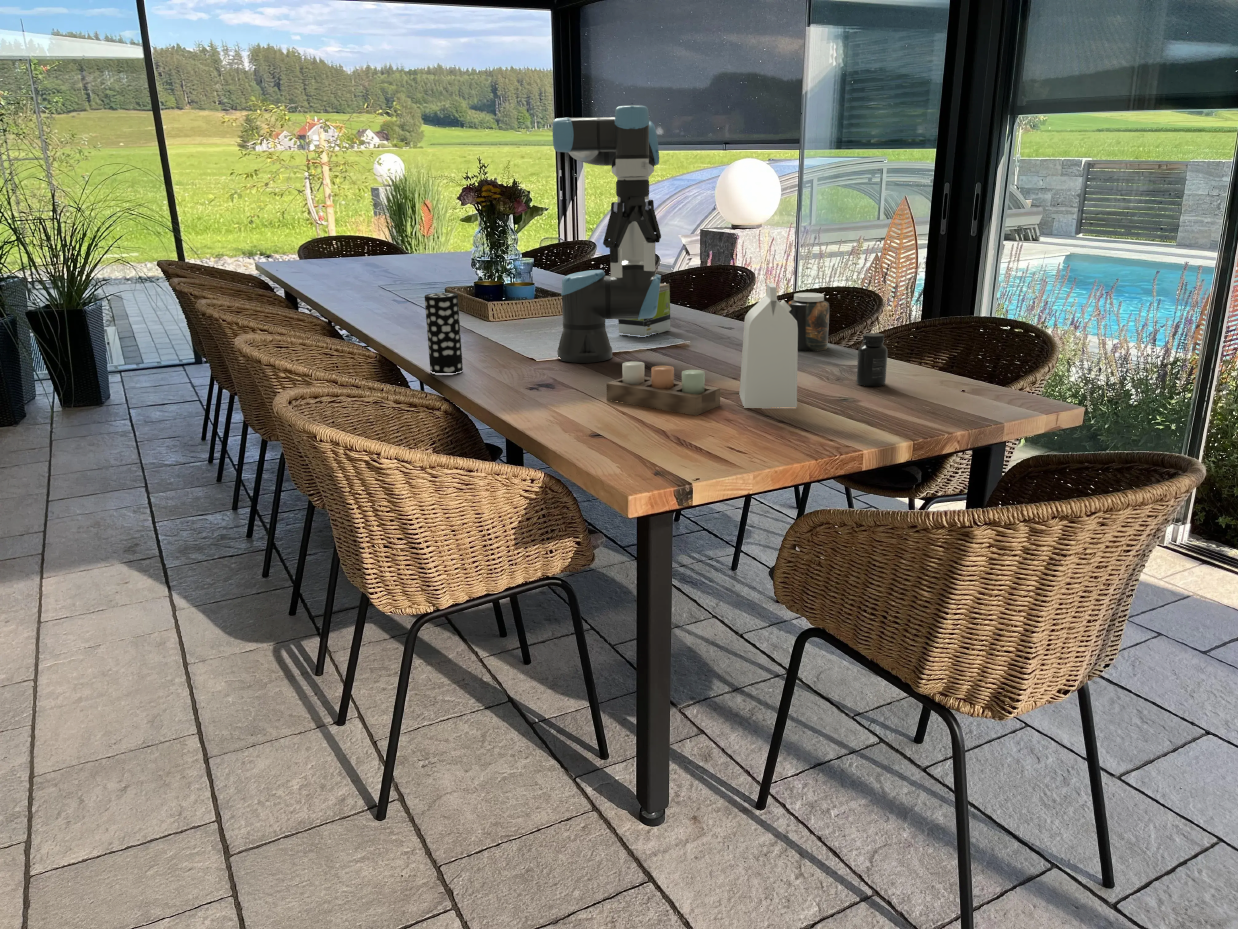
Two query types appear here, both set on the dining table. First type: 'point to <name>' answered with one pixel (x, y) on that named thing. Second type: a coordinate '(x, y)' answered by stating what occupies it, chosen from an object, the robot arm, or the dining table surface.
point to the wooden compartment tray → (663, 397)
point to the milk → (769, 354)
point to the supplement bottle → (872, 360)
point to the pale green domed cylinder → (693, 381)
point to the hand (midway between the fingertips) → (633, 274)
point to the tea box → (650, 324)
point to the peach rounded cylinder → (662, 377)
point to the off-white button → (633, 373)
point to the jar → (811, 320)
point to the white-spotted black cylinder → (443, 332)
